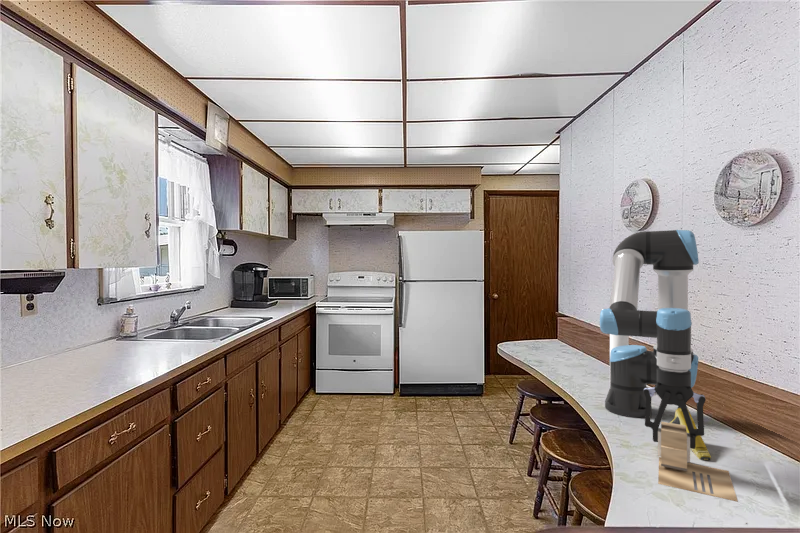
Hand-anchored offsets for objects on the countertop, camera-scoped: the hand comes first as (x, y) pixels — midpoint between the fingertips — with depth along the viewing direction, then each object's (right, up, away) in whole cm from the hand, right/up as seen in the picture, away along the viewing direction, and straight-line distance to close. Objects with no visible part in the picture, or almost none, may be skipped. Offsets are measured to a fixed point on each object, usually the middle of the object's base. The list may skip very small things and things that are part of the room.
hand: (673, 456), depth 111 cm
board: (+1, -4, -6) cm, 7 cm away
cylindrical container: (+22, -3, +70) cm, 74 cm away
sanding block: (0, -1, 0) cm, 1 cm away
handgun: (+12, -4, +13) cm, 18 cm away
